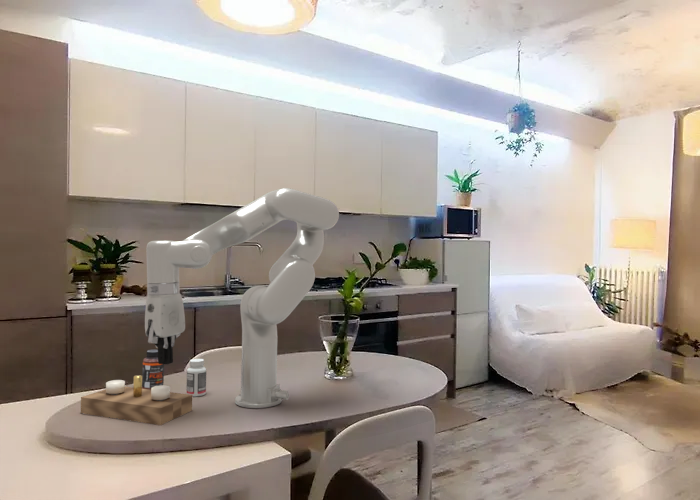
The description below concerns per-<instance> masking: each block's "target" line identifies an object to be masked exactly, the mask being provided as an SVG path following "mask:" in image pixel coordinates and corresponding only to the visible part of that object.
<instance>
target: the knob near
mask: <svg viewBox="0 0 700 500" xmlns="http://www.w3.org/2000/svg"><path fill="white" fill-rule="evenodd" d="M170 392H171V386H170V385H164V384H163V385H160V386H154V387H152V388H151V399H154V400H156V401H164V400H165V399H167V398H169V397H170Z"/></svg>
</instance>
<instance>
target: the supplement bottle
mask: <svg viewBox="0 0 700 500" xmlns="http://www.w3.org/2000/svg"><path fill="white" fill-rule="evenodd" d="M164 377H165V364H159V363H158V349H148V350H147V351H146V357H145V358H143V359H142V389H149V390H151V388H152V387H154V386H160V385H164V381H165V379H164Z"/></svg>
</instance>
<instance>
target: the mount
mask: <svg viewBox="0 0 700 500" xmlns="http://www.w3.org/2000/svg"><path fill="white" fill-rule="evenodd" d="M191 411H193V396H192V395H189V394H187V393H179V392H172V391H170V397H169V398H167V399H165V400H164V401H156V400H154V399H151V390H149V389H142V396H141V397H133V387H131V386H125V391H124V392H122V393H120V394H118V395H111V394H108V393H106V388H105V389H103V390H99V391H95V392H93V393H90V394H86V395H84V396H81V397H80V414H82V413H84V415H89V414H90V416H97V417H102V416H103V417H104V418H109V417H110V419H116V418H118V420H122V419H125V420H124V421H129V420H131V421H130V422H136V421H137V422H136V423H142V422H143V424H148V425H149V424H150V425H157V426H162V425H164V424H166V423H168V422H171V421H173V420H175V419H177V418H179V417H181V416H184V415H185V414H187V413H190V412H191Z"/></svg>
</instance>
